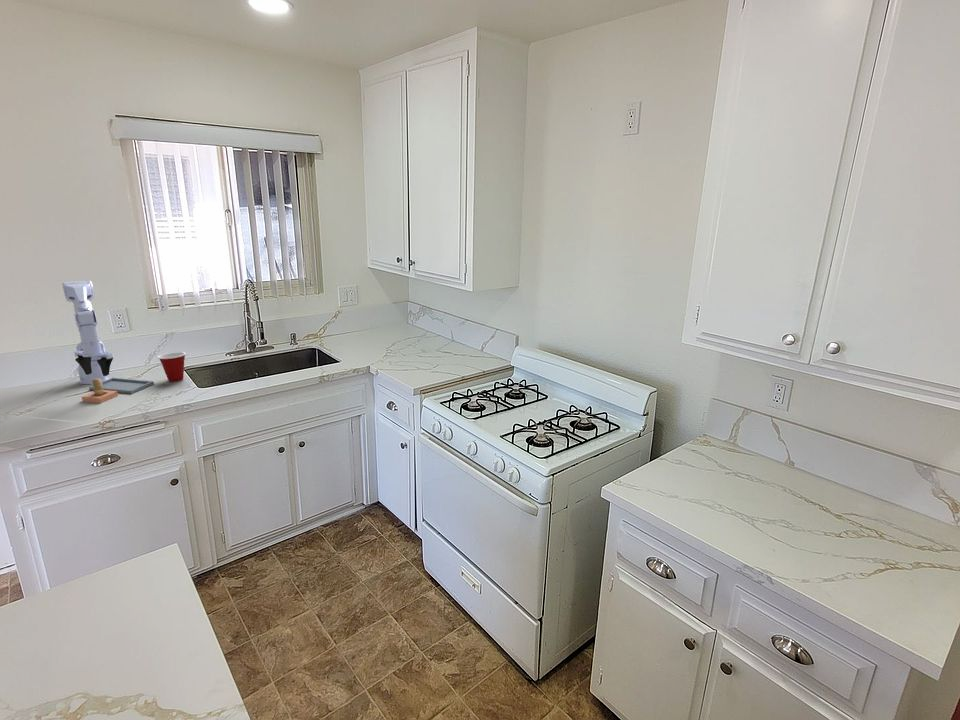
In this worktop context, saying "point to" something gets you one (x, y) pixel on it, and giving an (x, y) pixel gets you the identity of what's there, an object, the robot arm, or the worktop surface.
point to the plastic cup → (173, 365)
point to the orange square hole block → (99, 397)
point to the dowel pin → (98, 387)
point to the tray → (124, 385)
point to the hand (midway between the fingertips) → (97, 374)
